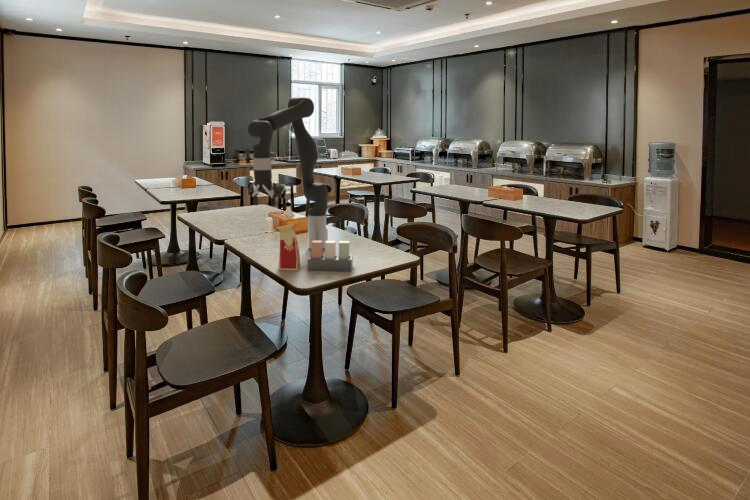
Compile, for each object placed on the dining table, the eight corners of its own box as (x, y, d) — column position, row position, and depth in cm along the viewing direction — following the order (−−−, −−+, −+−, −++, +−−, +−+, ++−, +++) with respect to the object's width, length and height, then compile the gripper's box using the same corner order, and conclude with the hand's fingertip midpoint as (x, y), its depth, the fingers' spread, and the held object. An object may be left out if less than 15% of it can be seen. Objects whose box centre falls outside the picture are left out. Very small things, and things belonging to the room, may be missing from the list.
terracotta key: (311, 258, 223) (311, 242, 221) (312, 256, 227) (312, 240, 225) (321, 259, 223) (320, 242, 221) (322, 256, 227) (322, 240, 225)
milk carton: (300, 264, 230) (299, 221, 226) (297, 270, 221) (296, 225, 217) (279, 264, 230) (278, 221, 225) (276, 270, 221) (275, 225, 216)
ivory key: (325, 259, 223) (325, 242, 221) (326, 256, 227) (326, 240, 225) (334, 259, 223) (334, 242, 221) (335, 256, 227) (335, 240, 225)
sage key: (338, 259, 223) (338, 242, 221) (339, 257, 227) (339, 240, 225) (348, 259, 222) (348, 243, 221) (349, 257, 226) (349, 241, 225)
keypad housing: (307, 270, 222) (307, 259, 220) (310, 265, 230) (310, 254, 229) (351, 271, 221) (351, 260, 220) (352, 265, 230) (352, 255, 229)
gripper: (281, 168, 221) (283, 205, 225) (253, 167, 225) (255, 203, 229) (272, 169, 214) (274, 208, 218) (243, 168, 219) (245, 206, 223)
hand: (264, 205), depth 224 cm, fingers open, 8 cm apart
